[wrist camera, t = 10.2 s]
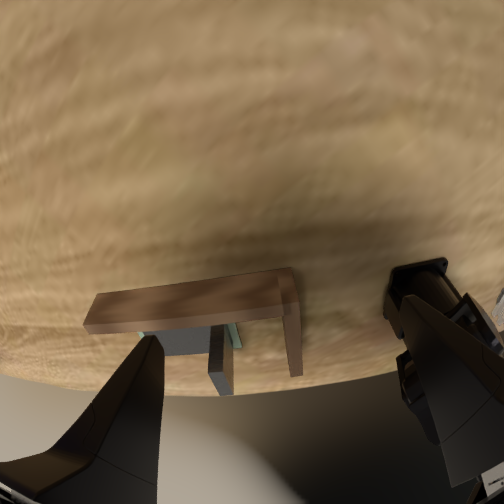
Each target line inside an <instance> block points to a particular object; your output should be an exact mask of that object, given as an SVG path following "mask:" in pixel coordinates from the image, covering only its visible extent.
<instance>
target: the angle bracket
mask: <svg viewBox="0 0 504 504" xmlns="http://www.w3.org/2000/svg"><path fill="white" fill-rule="evenodd" d="M143 334H144V336H145V335H156V337H157V338H158V340H159V341H160V343H161V345H162V347H163V348H164V353H165V356H174V355H190V354H203V353H209V361H208V374H209V376H210V378H211V380H212V382H213V384H214V386H215V387H216V389H217V391H218V393H219V395H220V396H226V395H234V384H233V340H232V337H231V334H230V331H229V328H228V325H227V324H221V325H212V326H203V327H193V328H183V329H172V330H160V331H146V332H143Z"/></svg>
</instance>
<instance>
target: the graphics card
mask: <svg viewBox="0 0 504 504" xmlns="http://www.w3.org/2000/svg"><path fill="white" fill-rule="evenodd" d="M503 307H504V288H503V289H502V291H501V293H500V295H499V297H498V299H497V304H496V306H495V308H494V310H493V312H492V316H493V317H494V318H495V316H496V315H498V320H497V323H498V325H499V326H500V325H501V324H502V323H503V324H504V320H503V319H504V316H503V314H504V312H503V310H504V308H503ZM502 309H503V310H502ZM501 311H502V312H503V314H502V312H501ZM500 313H501V314H500ZM501 315H502V316H503V318H502V316H501Z"/></svg>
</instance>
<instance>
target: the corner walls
mask: <svg viewBox="0 0 504 504" xmlns="http://www.w3.org/2000/svg"><path fill="white" fill-rule="evenodd" d="M280 316H282V319H283V327H284V335H285V344H286V350H287V357H288V364H289V370H290V377H295V376H301V375H303V362H302V340H301V321H300V305H299V298H298V294H297V290H296V286H295V282H294V278H293V274H292V270H291V267H290V268H283V269H277V270H270V271H264V272H257V273H251V274H244V275H237V276H230V277H223V278H216V279H209V280H202V281H195V282H188V283H180V284H173V285H165V286H158V287H150V288H142V289H134V290H126V291H118V292H110V293H102V294H97V295H96V297H95V299H94V302H93V304H92V306H91V308H90V310H89V312H88V314H87V316H86V319H85V321H84V323H83V326H84V328H85V329H86V331H87V332H88V333H89V334H113V333H131V332H146V331H160V330H172V329H183V328H193V327H203V326H212V325H221V324H229V323H237V322H245V321H252V320H260V319H267V318H273V317H280Z"/></svg>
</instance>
